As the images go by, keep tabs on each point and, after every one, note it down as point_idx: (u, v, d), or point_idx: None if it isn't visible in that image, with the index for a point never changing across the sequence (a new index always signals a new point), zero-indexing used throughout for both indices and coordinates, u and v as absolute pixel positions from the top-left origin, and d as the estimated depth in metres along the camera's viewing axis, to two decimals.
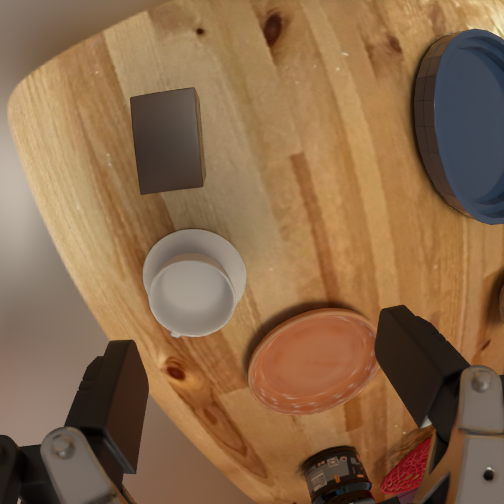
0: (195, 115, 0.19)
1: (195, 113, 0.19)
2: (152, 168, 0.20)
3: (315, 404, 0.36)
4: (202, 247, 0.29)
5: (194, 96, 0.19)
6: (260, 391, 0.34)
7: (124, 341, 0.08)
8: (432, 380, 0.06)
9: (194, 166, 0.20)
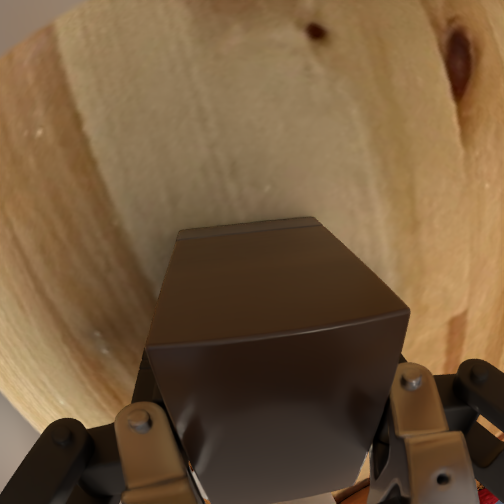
0: (388, 390, 0.06)
1: (390, 384, 0.06)
2: (245, 486, 0.07)
3: None
4: None
5: (403, 339, 0.05)
6: None
7: None
8: None
9: (346, 471, 0.07)
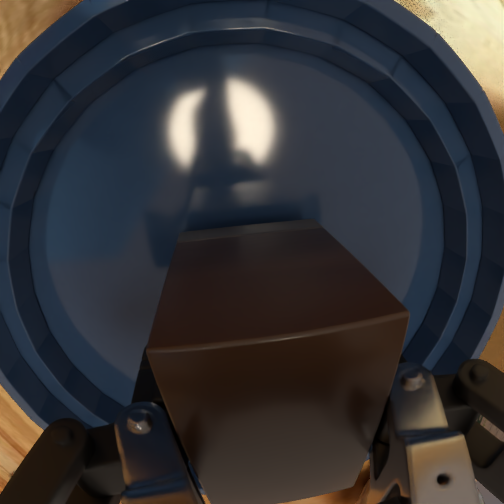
0: (388, 392, 0.06)
1: (389, 387, 0.06)
2: (245, 487, 0.07)
3: None
4: None
5: (402, 342, 0.05)
6: None
7: None
8: None
9: (347, 472, 0.07)
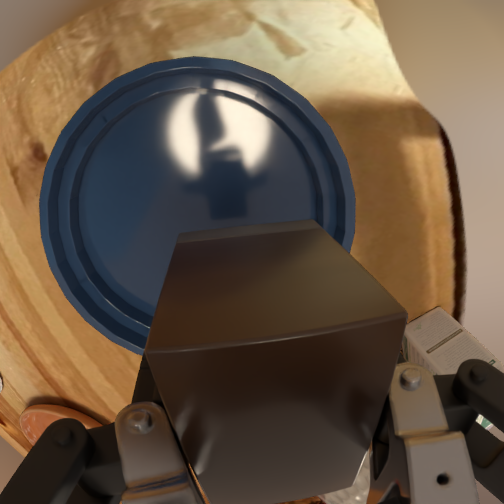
0: (386, 392, 0.06)
1: (388, 387, 0.06)
2: (244, 487, 0.07)
3: None
4: None
5: (400, 342, 0.05)
6: None
7: None
8: None
9: (345, 472, 0.07)
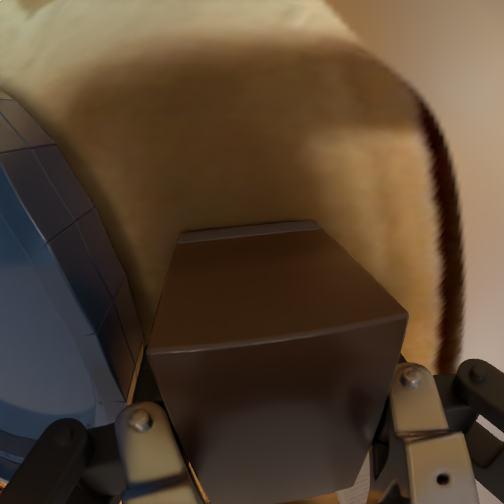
0: (387, 393, 0.06)
1: (388, 387, 0.06)
2: (245, 488, 0.07)
3: None
4: None
5: (401, 343, 0.05)
6: None
7: None
8: None
9: (346, 472, 0.07)
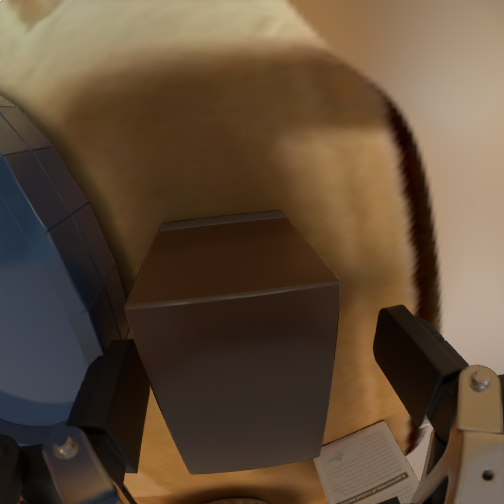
0: (332, 355, 0.07)
1: (333, 350, 0.07)
2: (215, 448, 0.08)
3: None
4: None
5: (337, 308, 0.07)
6: None
7: (125, 340, 0.08)
8: (431, 380, 0.07)
9: (309, 439, 0.08)
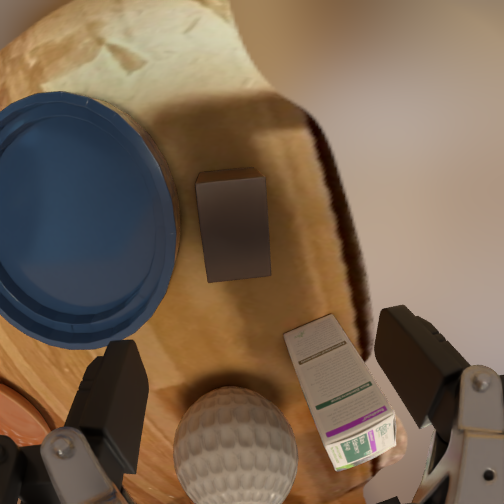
0: (266, 207, 0.20)
1: (266, 204, 0.20)
2: (221, 258, 0.21)
3: None
4: None
5: (265, 186, 0.20)
6: None
7: (124, 341, 0.08)
8: (432, 380, 0.06)
9: (263, 257, 0.22)
